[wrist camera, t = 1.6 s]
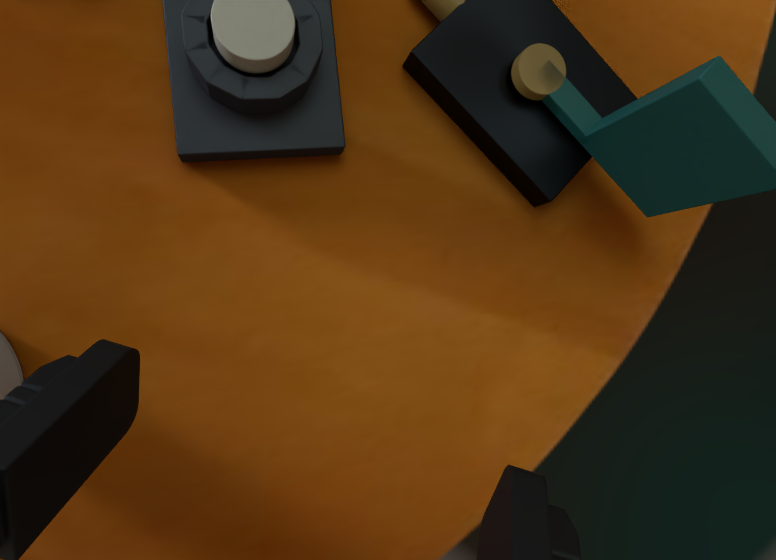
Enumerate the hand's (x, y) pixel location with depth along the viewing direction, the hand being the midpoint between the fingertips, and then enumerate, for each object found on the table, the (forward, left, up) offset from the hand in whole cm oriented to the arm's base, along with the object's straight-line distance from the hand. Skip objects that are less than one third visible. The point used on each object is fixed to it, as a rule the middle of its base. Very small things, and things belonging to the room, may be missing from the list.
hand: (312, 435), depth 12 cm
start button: (-17, 0, -18) cm, 24 cm away
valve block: (-16, +15, -21) cm, 31 cm away
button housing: (-17, 0, -21) cm, 27 cm away
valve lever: (-11, +19, -19) cm, 29 cm away
